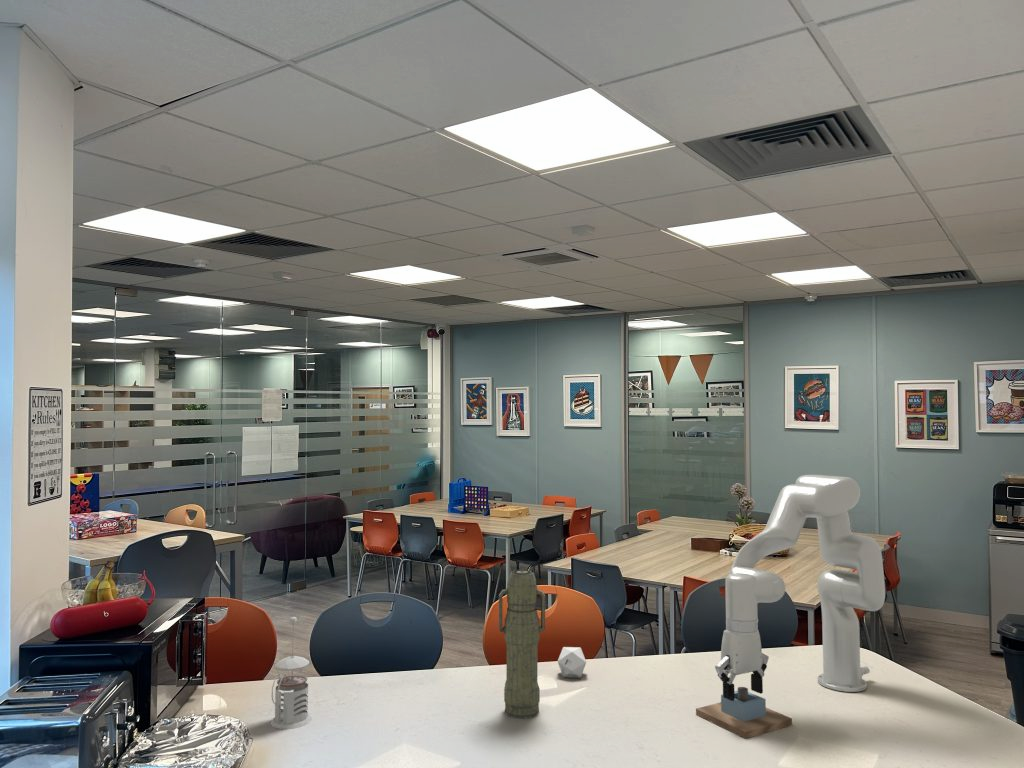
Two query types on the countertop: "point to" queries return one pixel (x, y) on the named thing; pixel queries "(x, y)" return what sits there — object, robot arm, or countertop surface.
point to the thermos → (522, 643)
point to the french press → (291, 693)
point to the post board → (742, 728)
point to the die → (572, 662)
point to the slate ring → (744, 707)
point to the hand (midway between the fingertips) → (743, 695)
